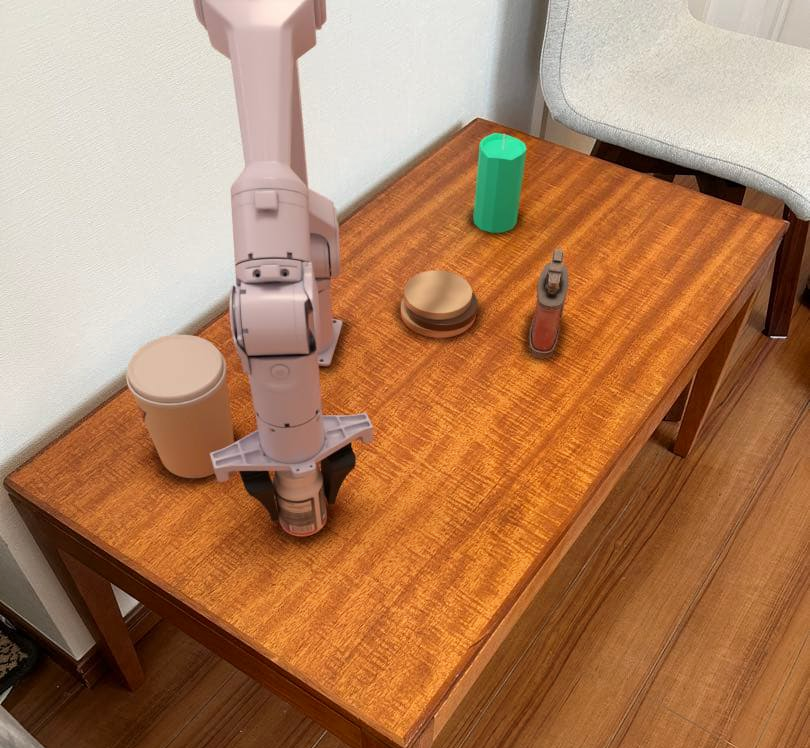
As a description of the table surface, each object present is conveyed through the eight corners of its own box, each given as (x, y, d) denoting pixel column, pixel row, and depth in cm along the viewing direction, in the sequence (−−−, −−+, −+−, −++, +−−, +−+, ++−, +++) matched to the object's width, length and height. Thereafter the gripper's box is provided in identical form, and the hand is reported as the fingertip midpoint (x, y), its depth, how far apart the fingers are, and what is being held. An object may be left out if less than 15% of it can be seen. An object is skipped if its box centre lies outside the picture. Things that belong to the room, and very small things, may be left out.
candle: (466, 211, 117) (473, 125, 107) (507, 204, 118) (517, 118, 108) (482, 236, 113) (490, 149, 104) (523, 228, 114) (535, 142, 105)
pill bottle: (302, 493, 86) (294, 435, 79) (336, 516, 84) (332, 460, 78) (269, 521, 84) (258, 464, 77) (303, 545, 82) (296, 490, 75)
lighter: (554, 360, 99) (569, 288, 91) (525, 355, 99) (537, 284, 91) (560, 316, 103) (575, 244, 95) (533, 312, 104) (545, 241, 96)
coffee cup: (169, 414, 92) (144, 326, 83) (252, 425, 92) (236, 338, 82) (139, 478, 87) (109, 392, 77) (228, 490, 86) (208, 405, 77)
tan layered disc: (394, 333, 101) (395, 312, 99) (406, 286, 107) (407, 265, 104) (472, 342, 100) (474, 321, 98) (480, 294, 106) (482, 273, 103)
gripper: (214, 458, 68) (238, 557, 78) (384, 414, 71) (385, 514, 82) (194, 400, 72) (220, 502, 82) (357, 360, 75) (361, 463, 86)
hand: (301, 505), depth 82 cm, fingers open, 5 cm apart
